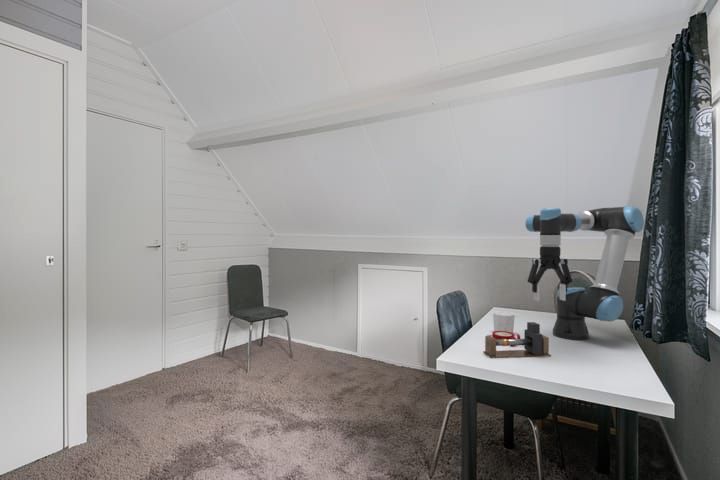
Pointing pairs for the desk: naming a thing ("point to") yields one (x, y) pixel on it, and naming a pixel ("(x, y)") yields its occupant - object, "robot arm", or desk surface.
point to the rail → (492, 353)
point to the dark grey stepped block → (533, 338)
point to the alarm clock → (504, 335)
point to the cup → (503, 321)
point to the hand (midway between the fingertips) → (549, 300)
